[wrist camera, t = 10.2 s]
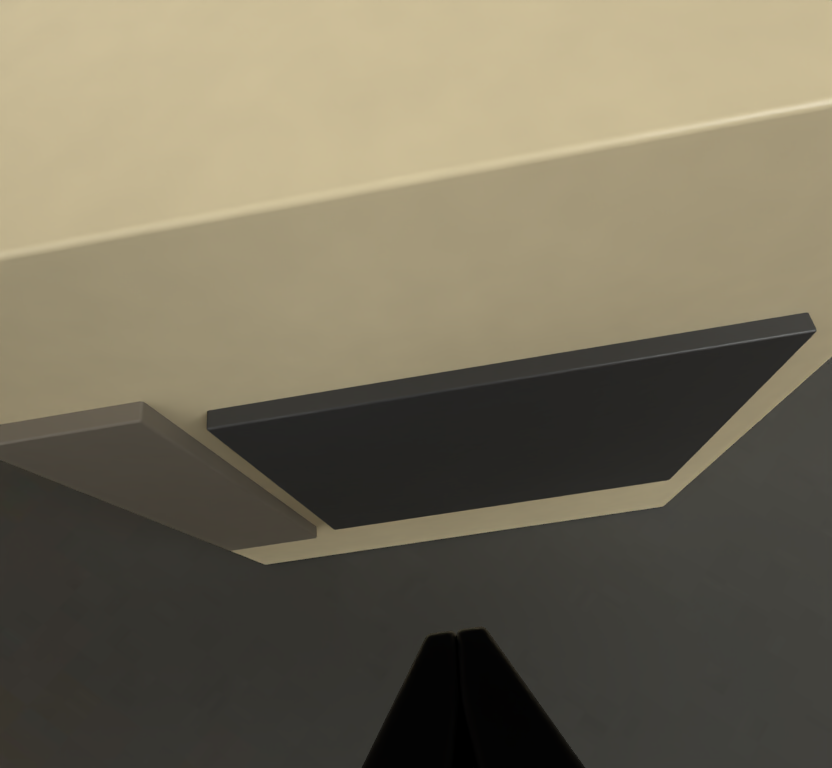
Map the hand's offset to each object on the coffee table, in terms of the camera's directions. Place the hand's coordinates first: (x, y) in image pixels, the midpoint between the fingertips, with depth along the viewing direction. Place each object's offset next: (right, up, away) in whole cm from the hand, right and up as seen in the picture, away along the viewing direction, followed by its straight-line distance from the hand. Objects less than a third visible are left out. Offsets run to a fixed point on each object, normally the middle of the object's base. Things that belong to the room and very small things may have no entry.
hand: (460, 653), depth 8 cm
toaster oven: (0, +5, +10) cm, 11 cm away
